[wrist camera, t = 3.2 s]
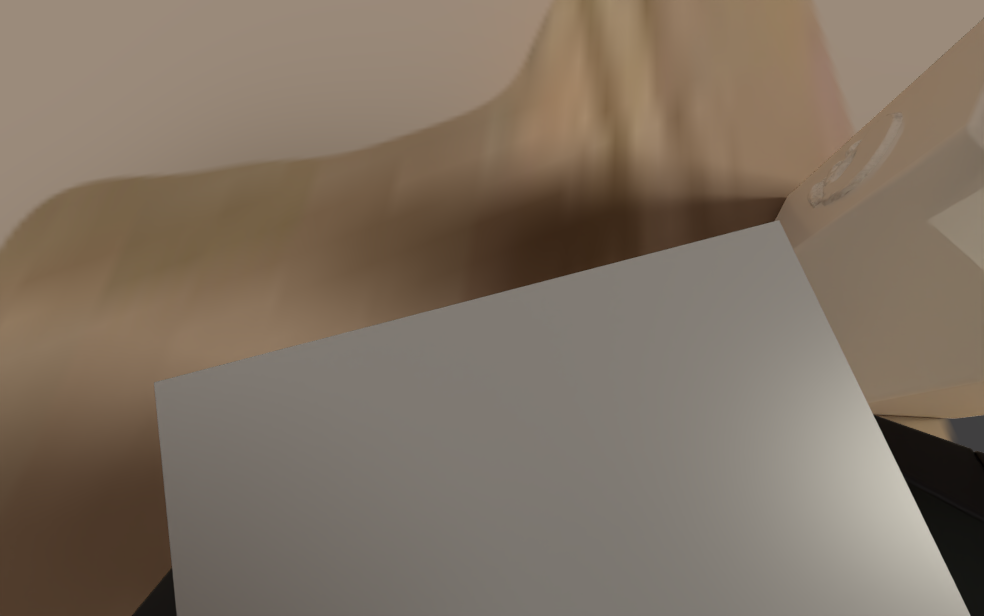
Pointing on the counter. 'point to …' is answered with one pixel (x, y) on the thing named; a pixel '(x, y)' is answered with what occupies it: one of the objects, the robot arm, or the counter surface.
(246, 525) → the plug
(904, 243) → the jar
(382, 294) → the counter surface
